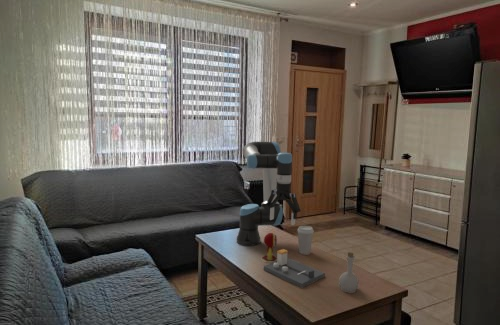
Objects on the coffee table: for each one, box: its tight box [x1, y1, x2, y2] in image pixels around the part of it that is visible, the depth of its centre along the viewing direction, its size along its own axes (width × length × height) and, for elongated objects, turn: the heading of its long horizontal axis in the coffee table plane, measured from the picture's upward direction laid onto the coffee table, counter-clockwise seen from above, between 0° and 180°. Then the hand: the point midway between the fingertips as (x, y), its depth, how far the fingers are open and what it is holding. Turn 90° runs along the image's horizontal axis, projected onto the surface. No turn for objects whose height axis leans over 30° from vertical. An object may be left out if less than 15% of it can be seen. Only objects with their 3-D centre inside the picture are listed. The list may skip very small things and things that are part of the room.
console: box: [263, 257, 326, 289], centre depth 175 cm, size 25×18×5 cm
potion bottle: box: [338, 251, 360, 294], centre depth 159 cm, size 9×9×18 cm
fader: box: [276, 248, 289, 266], centre depth 180 cm, size 3×5×7 cm
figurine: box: [260, 232, 278, 264], centre depth 191 cm, size 9×10×15 cm
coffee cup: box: [296, 225, 315, 256], centre depth 202 cm, size 10×10×15 cm
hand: (282, 222), depth 183 cm, fingers open, 13 cm apart
